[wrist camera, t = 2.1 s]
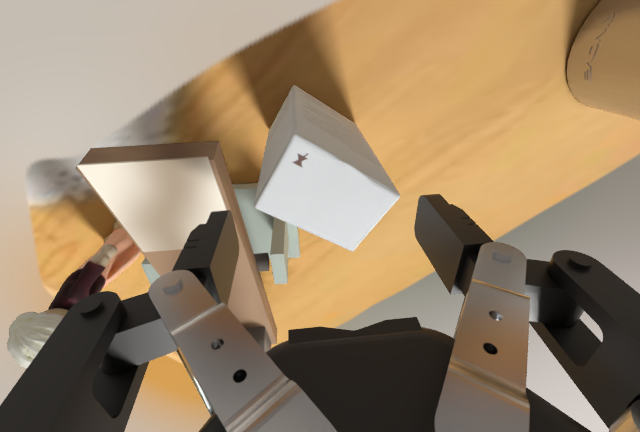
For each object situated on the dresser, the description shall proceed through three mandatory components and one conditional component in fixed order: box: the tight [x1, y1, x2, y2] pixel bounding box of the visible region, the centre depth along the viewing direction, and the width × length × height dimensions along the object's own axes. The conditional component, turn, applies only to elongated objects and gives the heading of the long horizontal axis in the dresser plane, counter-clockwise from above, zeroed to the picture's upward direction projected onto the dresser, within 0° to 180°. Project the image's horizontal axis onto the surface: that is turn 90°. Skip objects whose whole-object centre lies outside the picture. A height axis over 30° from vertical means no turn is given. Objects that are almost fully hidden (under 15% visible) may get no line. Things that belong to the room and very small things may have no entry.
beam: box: [76, 141, 277, 352], centre depth 22 cm, size 7×23×5 cm, turn 2°
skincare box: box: [254, 85, 400, 251], centre depth 19 cm, size 6×4×12 cm
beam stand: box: [141, 183, 300, 285], centre depth 25 cm, size 12×8×7 cm, turn 92°
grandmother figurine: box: [7, 221, 142, 368], centre depth 23 cm, size 8×4×13 cm, turn 147°
